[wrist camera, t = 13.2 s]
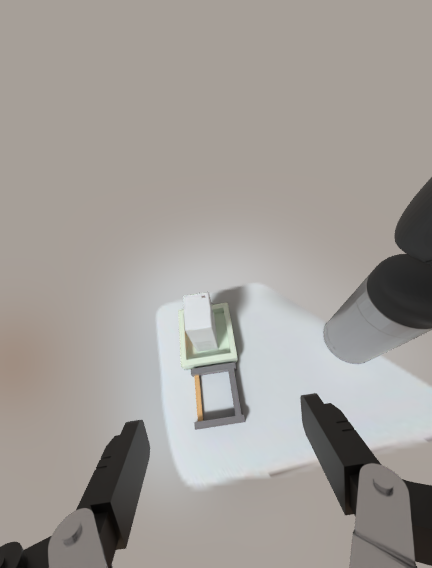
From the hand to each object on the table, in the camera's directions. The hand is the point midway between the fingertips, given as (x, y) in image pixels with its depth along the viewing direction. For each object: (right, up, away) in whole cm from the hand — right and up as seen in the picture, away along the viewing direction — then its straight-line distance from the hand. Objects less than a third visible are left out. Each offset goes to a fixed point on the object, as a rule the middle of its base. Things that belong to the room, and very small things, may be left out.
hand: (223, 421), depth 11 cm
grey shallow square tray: (0, -12, +28) cm, 31 cm away
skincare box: (-2, -3, +33) cm, 33 cm away
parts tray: (-2, -4, +34) cm, 34 cm away
